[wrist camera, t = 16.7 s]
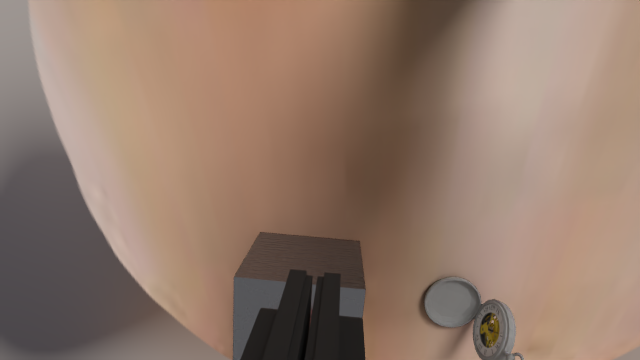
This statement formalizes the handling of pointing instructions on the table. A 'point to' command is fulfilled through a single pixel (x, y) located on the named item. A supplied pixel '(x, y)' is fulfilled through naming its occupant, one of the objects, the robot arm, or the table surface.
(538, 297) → the table surface
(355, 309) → the block
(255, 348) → the robot arm
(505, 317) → the pocket watch
